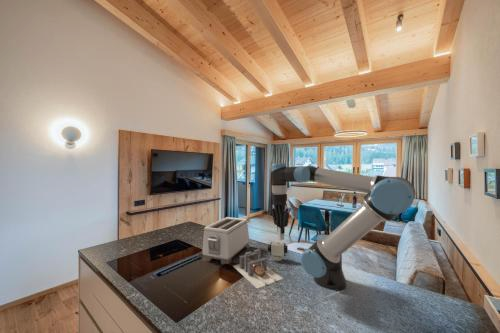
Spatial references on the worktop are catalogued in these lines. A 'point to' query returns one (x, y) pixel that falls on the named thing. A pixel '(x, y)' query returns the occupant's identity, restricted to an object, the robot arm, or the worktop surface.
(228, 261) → the toaster
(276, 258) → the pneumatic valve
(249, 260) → the tube
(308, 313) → the worktop surface
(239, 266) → the board
